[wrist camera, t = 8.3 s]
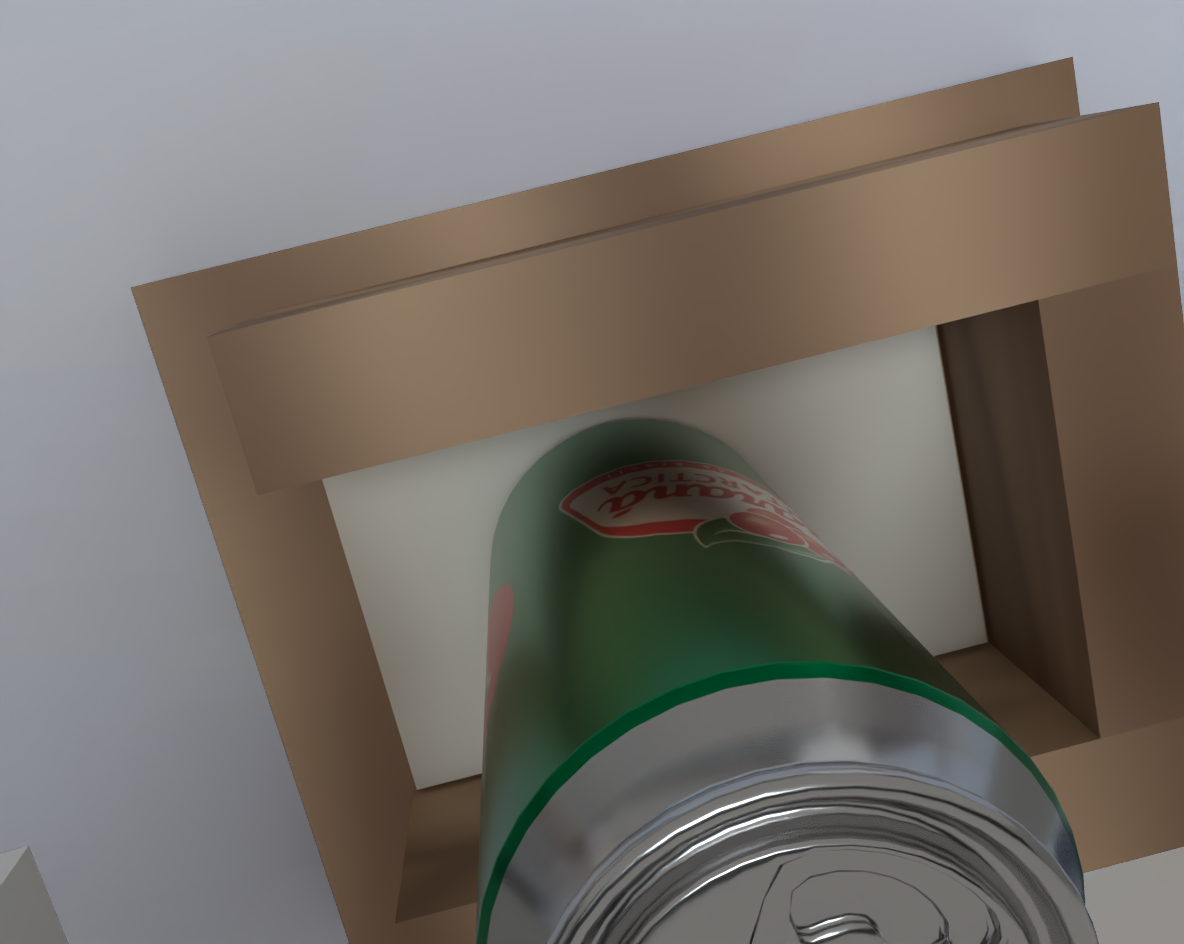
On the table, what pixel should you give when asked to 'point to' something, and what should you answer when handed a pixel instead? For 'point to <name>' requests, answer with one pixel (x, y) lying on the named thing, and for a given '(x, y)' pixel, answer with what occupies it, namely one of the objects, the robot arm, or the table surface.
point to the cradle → (728, 413)
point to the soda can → (734, 730)
